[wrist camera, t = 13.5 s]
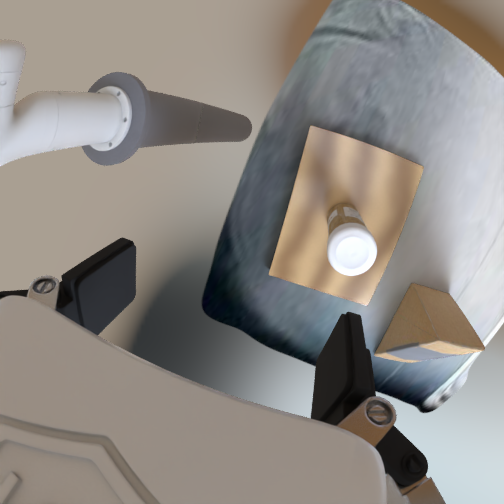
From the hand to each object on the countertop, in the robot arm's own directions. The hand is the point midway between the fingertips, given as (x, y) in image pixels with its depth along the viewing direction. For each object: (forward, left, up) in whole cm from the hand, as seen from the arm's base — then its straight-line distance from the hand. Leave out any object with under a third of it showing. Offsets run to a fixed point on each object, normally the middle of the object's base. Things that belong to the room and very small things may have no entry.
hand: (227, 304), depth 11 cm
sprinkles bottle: (+7, -1, -27) cm, 28 cm away
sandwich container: (+26, -15, -28) cm, 41 cm away
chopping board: (+8, -2, -28) cm, 29 cm away
